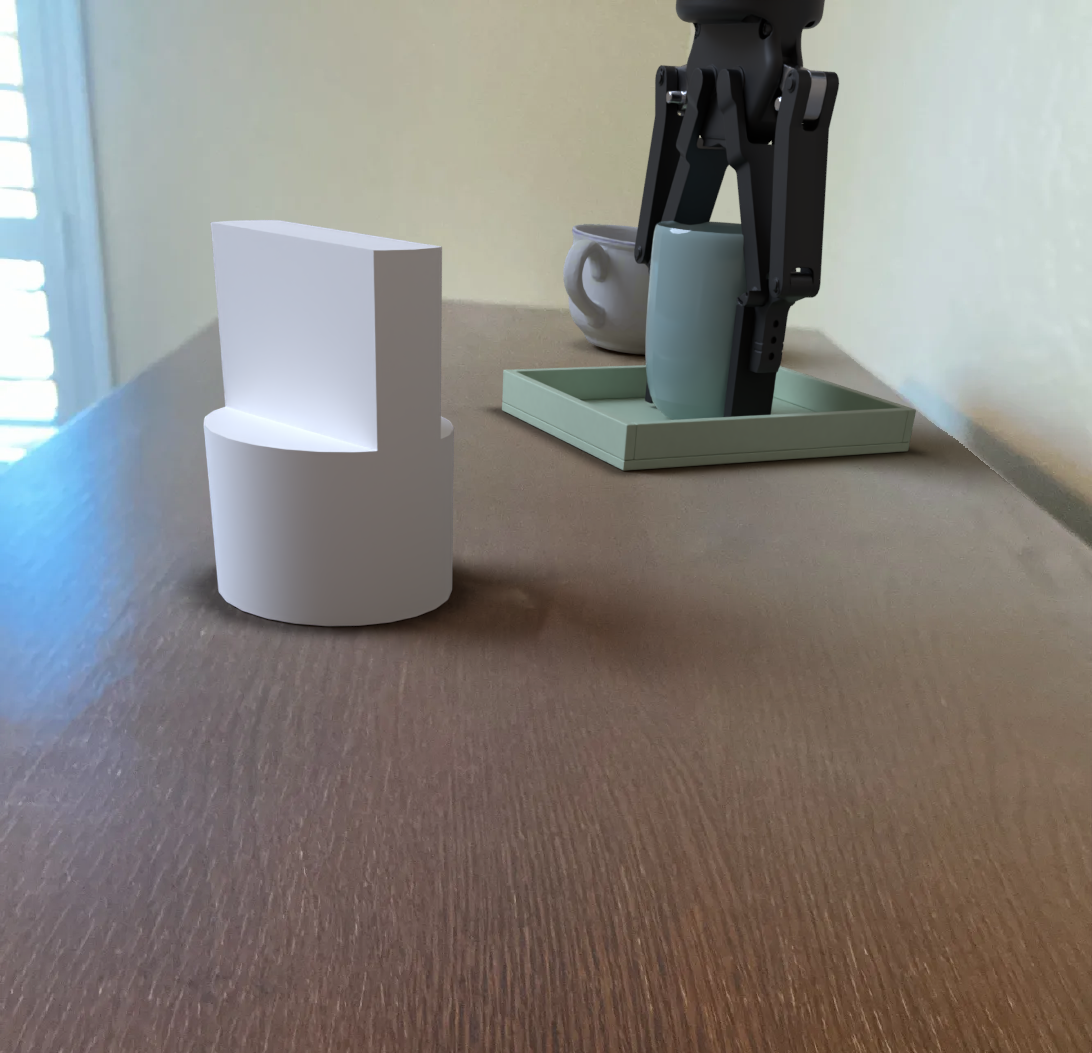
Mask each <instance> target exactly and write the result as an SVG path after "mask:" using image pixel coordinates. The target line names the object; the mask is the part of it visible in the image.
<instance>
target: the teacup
mask: <svg viewBox="0 0 1092 1053" xmlns="http://www.w3.org/2000/svg"><path fill="white" fill-rule="evenodd" d="M637 229H638V226H631V225H630V226H629V225H619V224H601V223H596V224H595V223H583V224H575V225H574V226H572V230H571V232H572V239H573V240H572V245H571V247H570V248H569V249H568V252H567V254H566V257H565V259H564V264H563V270H562V271H563V272H562V274H563V275H562V277H563V285H564V288H565V291H566V293H567V295H568V309H569V313H570V317H571V319H572V321H573V322H574V324H575V325H576V326H577V328H578V329H579V330H580V331H581V332H582V333H583V335H584V338H585V339H586V340H587V342H588V343H589V344H591V345H593V346H596V347H600V348H602V349H606V350H608V351H614V352H618V353H626V354H632V355H645V345H646V318H647V302H648V289H649V277H650V276H649V272H648V267H647V266H646V265H645V264H638V263H637V262H636V261H635V258H634V248H635V242H636V235H637Z"/></svg>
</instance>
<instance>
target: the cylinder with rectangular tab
mask: <svg viewBox="0 0 1092 1053" xmlns="http://www.w3.org/2000/svg"><path fill="white" fill-rule="evenodd" d="M210 230H211V231H210V232H211V233H210V234H211V246H212V257H213V258H212V259H213V270H214V282H215V283H214V284H215V293H216V294H215V295H216V307H217V321H218V331H219V334H218V335H219V344H220V345H219V346H220V356H221V369H222V370H221V371H222V382H223V395H224V406H223V407H220V408H217V409H214V410H212V411H211V412H209V413H208V414H207V415H205V416H204V418H203V434H204V445H205V456H206V466H207V478H208V490H209V501H210V511H211V512H210V513H211V524H212V532H213V544H214V555H215V565H216V566H215V568H216V578H217V589H218V590H217V591H218V593H219V594H220V596H221V597H222V599H224V601H225V602H226V603H228V604H229V605H231V606H233V607H236V608H237V609H238V610H240V611H242V612H244V613H248V614H251V615H254V616H258V617H260V618H264V619H268V620H273V621H278V622H284V623H289V624H294V625H295V624H296V625H308V626H309V625H310V626H322V627H352V626H353V627H355V626H356V627H357V626H359V627H360V626H367V625H377V624H387V623H394V622H397V621H402V620H407V619H411V618H416V617H418V616H421V615H423V614H426V613H429V612H431V611H434V610H436V609H437V608H439V607H440V606H442V605H443V604H444V603H446V602H447V601H448V600H449V598H450V596H451V593H452V591H453V559H454V558H453V556H454V555H453V554H454V553H453V552H454V551H453V549H454V547H453V546H454V476H455V475H454V473H455V472H454V471H455V470H454V467H455V464H454V462H455V459H454V458H455V427H454V425H453V423H452V422H451V420H449V419H448V418H446V417H445V416H442V331H443V330H442V329H443V328H442V322H443V321H442V318H443V316H442V314H443V312H442V311H443V307H442V306H443V297H442V296H443V246H440V245H434V244H429V243H422V242H415V241H409V240H404V239H397V238H391V237H385V236H378V235H372V234H367V233H360V232H355V231H349V230H341V229H337V228H336V229H335V228H329V227H323V226H319V225H318V226H317V225H312V224H311V225H310V224H305V223H301V222H299V223H298V222H293V221H287V220H280V219H252V220H251V219H242V220H221V221H219V220H218V221H211V222H210Z"/></svg>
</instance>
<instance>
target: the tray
mask: <svg viewBox="0 0 1092 1053" xmlns="http://www.w3.org/2000/svg"><path fill="white" fill-rule="evenodd" d="M646 382H647V374H646V364H641V365H640V364H639V365H612V366H611V365H609V366H579V367H578V366H577V367H575V366H574V367H547V368H546V367H545V368H515V369H503V371H502V397H501V398H502V400H501V401H502V402H501V410H502V412H505V413H507V414H509V415H511V416H513V417H515V418H517V419H518V420H521V421H523V422H525V423H527V424H529V425H531V426H533V427H534V428H537V429H539V430H541V431H543V432H545V433H547V434H549V435H551V436H552V437H555V438H557V439H559V440H561V441H563V442H565V443H567V444H569V445H571V446H573V447H575V448H577V449H579V450H582V451H583V452H585V453H587V454H589V455H591V456H593V457H595V458H597V459H598V460H599V459H600V460H601V461H603V462H605V463H607V464H609V465H610V466H611V465H612V466H613V467H615V468H617V469H619V470H621V471H623V472H624V471H625V472H626V471H640V470H651V469H652V470H654V469H669V468H682V467H683V468H684V467H696V466H698V467H699V466H712V465H725V464H741V463H755V462H757V463H758V462H770V461H771V462H773V461H785V460H798V459H799V460H801V459H813V458H814V459H815V458H827V457H828V458H830V457H844V456H856V455H857V456H858V455H872V454H873V455H874V454H886V453H900V452H901V453H902V452H908V451H909V448H910V442H911V438H912V433H913V428H914V423H915V418H916V413H917V410H916V408H912V407H909V406H906V405H903V404H901V403H897V402H894V401H891V400H888V399H884V398H882V397H878V396H876V395H872V394H869V393H866V392H863V391H860V390H858V389H857V390H856V389H854V388H850V387H848V386H844V385H841V384H838V383H834V382H832V381H829V380H825V379H822V378H819V377H817V376H813V375H810V374H806V373H804V372H801V371H797V370H794V369H791V368H789V367H785V366H782V365H780V367H779V370H778V372H777V373H776V380H775V388H774V395H773V402H772V410H771V415H757V416H737V417H718V418H699V419H680V420H671V419H669V418H667V417H666V416H664V415H663V414H662V413H661V412H660V411H659V410H658V409H657V407H656V406H655V404H654V403H652V404H651V403H648V402H646V401H645V394H646Z"/></svg>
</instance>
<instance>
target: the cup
mask: <svg viewBox="0 0 1092 1053" xmlns="http://www.w3.org/2000/svg"><path fill="white" fill-rule="evenodd" d="M743 243H744V237H743V235H742V229H741V223H737V222H725V221H724V222H722V221H709V222H705V223H702V224H694V225H688V224H681V223H678V222H675V221H664V222H659V223H657V224H656V226H655V230H654V236H653V244H652V254H651V265H650V277H649V289H648V302H647V318H646V345H645V354H644V355H645V356H644V357H645V365H646V374H647V383H648V388H649V392H650V395H651V398H652V401H653V403H654V404H655V406H656V407H657V409H658V410H659V411H660V412H661V413H662V414H663V415H664V416H666V417H667V418H669V419H671V420H680V419H699V418H718V417H723V416H724V408H725V399H726V390H727V382H728V373H729V365H730V356H731V348H732V339H733V331H734V322H735V314H736V305H738V303H737V300H736V298H737V297H739V296H740V295H742V294H744V293H747V283H746V272H745V262H744V251H743ZM767 279H769V272H768V274H767Z"/></svg>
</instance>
